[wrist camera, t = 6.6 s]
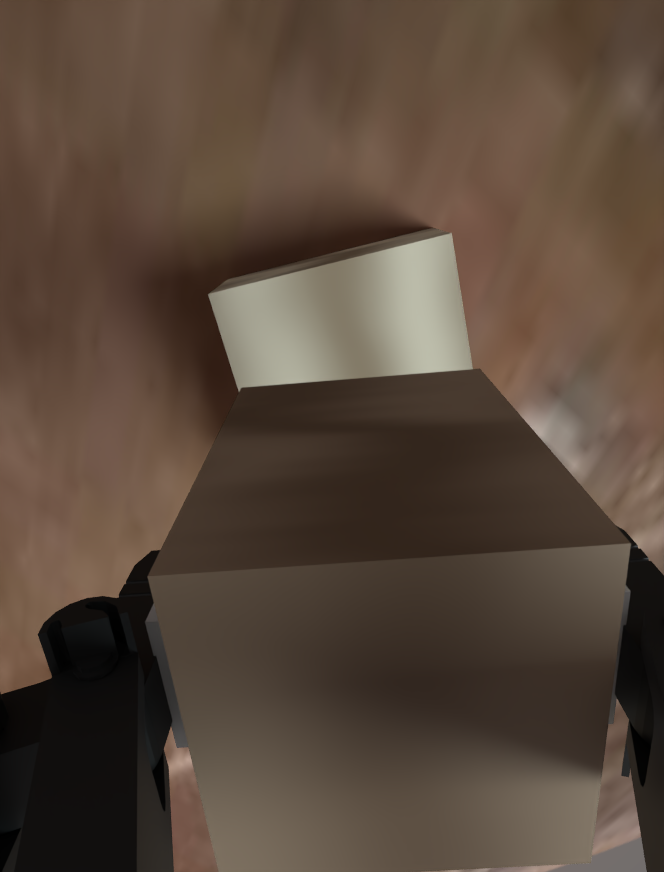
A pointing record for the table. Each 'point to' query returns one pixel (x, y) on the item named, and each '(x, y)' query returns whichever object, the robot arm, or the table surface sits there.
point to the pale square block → (347, 314)
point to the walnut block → (391, 631)
